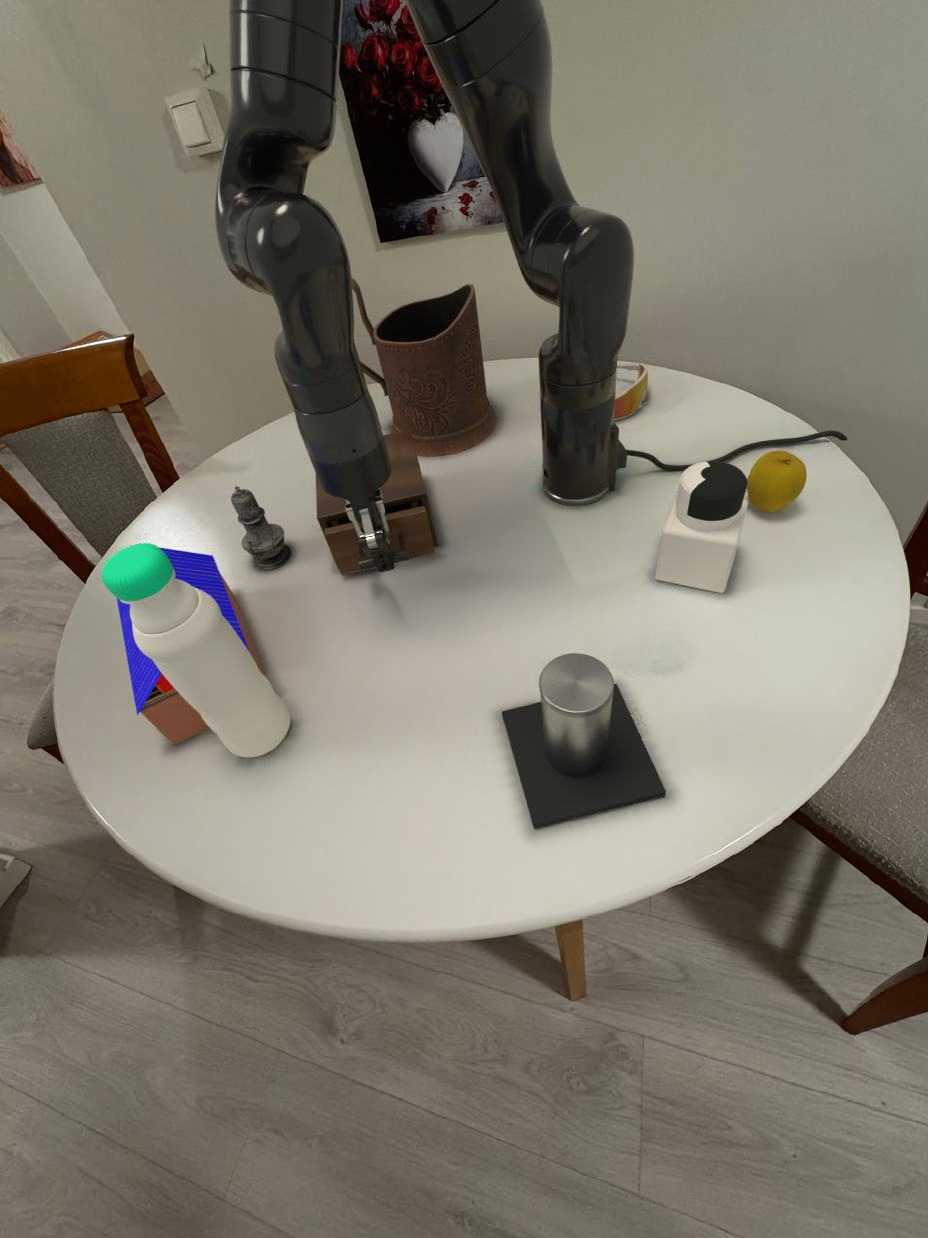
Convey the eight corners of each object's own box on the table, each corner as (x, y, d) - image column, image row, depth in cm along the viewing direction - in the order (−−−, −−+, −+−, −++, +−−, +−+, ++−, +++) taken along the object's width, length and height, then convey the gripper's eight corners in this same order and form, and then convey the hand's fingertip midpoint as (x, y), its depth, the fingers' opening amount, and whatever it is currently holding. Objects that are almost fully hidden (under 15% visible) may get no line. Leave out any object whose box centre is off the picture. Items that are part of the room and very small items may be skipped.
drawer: (440, 574, 73) (431, 532, 68) (342, 597, 73) (325, 557, 68) (420, 489, 86) (410, 448, 81) (336, 508, 85) (321, 468, 80)
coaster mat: (615, 688, 60) (616, 683, 59) (665, 796, 52) (666, 792, 51) (502, 716, 59) (501, 711, 59) (533, 829, 51) (533, 824, 51)
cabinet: (438, 546, 78) (426, 492, 72) (338, 569, 78) (316, 518, 71) (422, 480, 89) (410, 428, 82) (333, 501, 88) (314, 450, 82)
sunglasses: (629, 429, 90) (627, 398, 86) (543, 425, 98) (538, 397, 94) (661, 385, 97) (660, 355, 94) (578, 385, 105) (574, 357, 102)
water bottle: (231, 710, 65) (94, 539, 46) (293, 696, 65) (182, 521, 46) (224, 767, 60) (68, 602, 41) (291, 752, 60) (166, 581, 41)
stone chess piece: (283, 572, 79) (246, 501, 70) (245, 570, 80) (204, 500, 71) (299, 543, 83) (266, 472, 74) (262, 542, 84) (226, 471, 75)
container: (734, 550, 70) (760, 457, 60) (723, 595, 66) (750, 502, 56) (668, 538, 73) (683, 448, 63) (654, 580, 69) (667, 490, 59)
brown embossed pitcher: (499, 449, 91) (480, 274, 73) (351, 465, 94) (296, 302, 76) (496, 391, 104) (480, 229, 85) (365, 407, 106) (322, 254, 88)
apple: (777, 529, 71) (796, 474, 66) (730, 508, 75) (744, 455, 69) (805, 503, 74) (826, 448, 68) (758, 485, 77) (773, 431, 71)
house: (171, 749, 62) (107, 686, 54) (146, 632, 75) (90, 566, 66) (277, 696, 65) (231, 629, 56) (235, 592, 78) (193, 524, 69)
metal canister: (595, 715, 57) (599, 645, 49) (617, 769, 53) (625, 703, 45) (536, 729, 57) (530, 661, 48) (554, 784, 53) (551, 721, 45)
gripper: (388, 466, 52) (425, 598, 65) (375, 398, 61) (409, 526, 74) (307, 485, 52) (359, 613, 65) (305, 414, 61) (351, 539, 74)
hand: (386, 566), depth 69 cm, fingers closed
